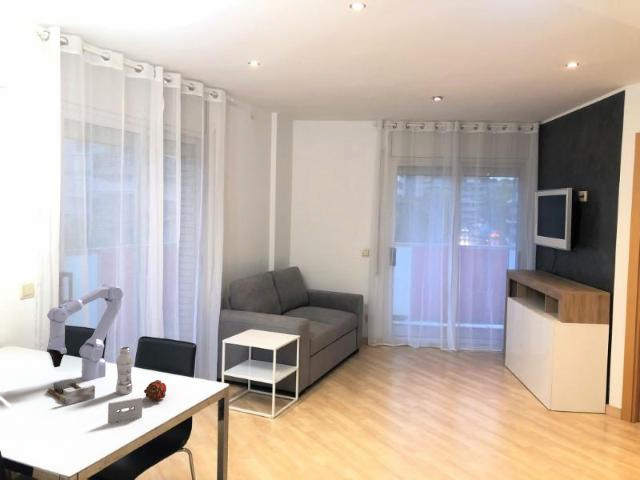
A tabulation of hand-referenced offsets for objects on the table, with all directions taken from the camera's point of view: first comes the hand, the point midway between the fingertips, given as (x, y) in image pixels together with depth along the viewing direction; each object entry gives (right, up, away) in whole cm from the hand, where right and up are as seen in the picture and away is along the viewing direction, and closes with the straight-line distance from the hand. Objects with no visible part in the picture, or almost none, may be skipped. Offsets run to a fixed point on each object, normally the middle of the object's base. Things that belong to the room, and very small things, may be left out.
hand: (56, 366), depth 210 cm
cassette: (+41, -13, -28) cm, 51 cm away
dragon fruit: (+45, -12, -7) cm, 47 cm away
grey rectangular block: (+6, -9, -5) cm, 12 cm away
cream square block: (+10, -9, -8) cm, 16 cm away
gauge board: (+10, -10, -9) cm, 17 cm away
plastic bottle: (+30, -11, -3) cm, 33 cm away
